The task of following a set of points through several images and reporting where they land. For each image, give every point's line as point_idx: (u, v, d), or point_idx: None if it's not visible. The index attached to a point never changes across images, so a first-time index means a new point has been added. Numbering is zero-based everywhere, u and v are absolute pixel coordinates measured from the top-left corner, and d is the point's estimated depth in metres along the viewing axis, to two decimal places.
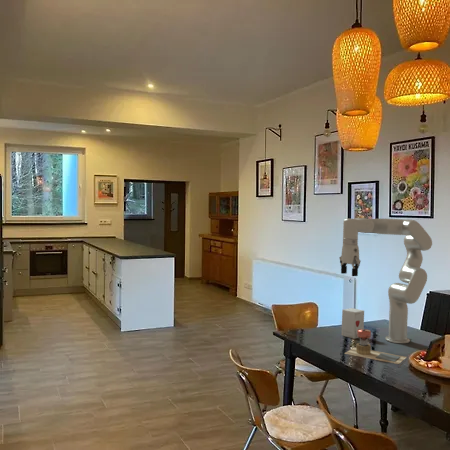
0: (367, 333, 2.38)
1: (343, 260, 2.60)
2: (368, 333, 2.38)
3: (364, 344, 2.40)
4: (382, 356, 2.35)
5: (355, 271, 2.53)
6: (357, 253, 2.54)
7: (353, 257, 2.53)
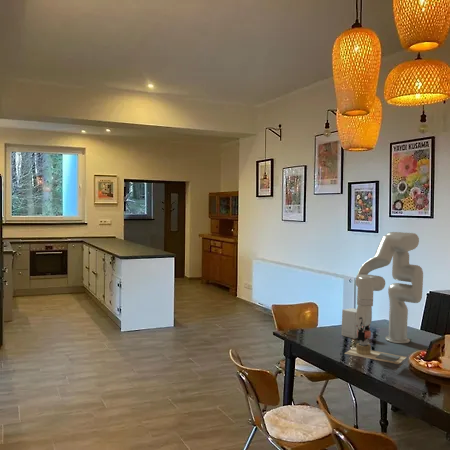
0: (367, 333, 2.38)
1: (366, 323, 2.38)
2: (368, 333, 2.38)
3: (364, 344, 2.40)
4: (382, 356, 2.35)
5: None
6: None
7: None
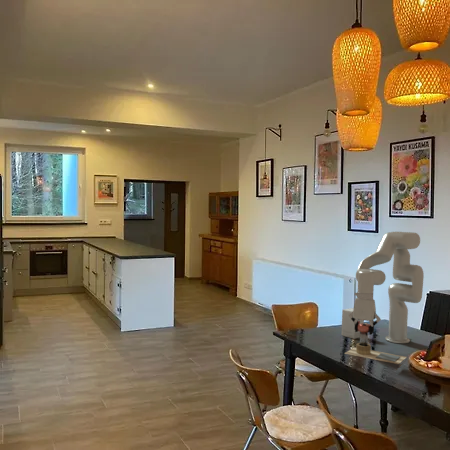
0: None
1: None
2: None
3: None
4: (382, 356, 2.35)
5: None
6: None
7: None
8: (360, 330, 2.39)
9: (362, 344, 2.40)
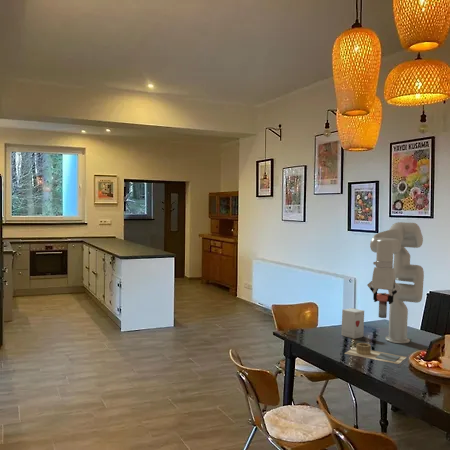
0: None
1: None
2: None
3: None
4: (382, 356, 2.35)
5: None
6: None
7: None
8: (379, 299, 2.34)
9: (381, 314, 2.34)
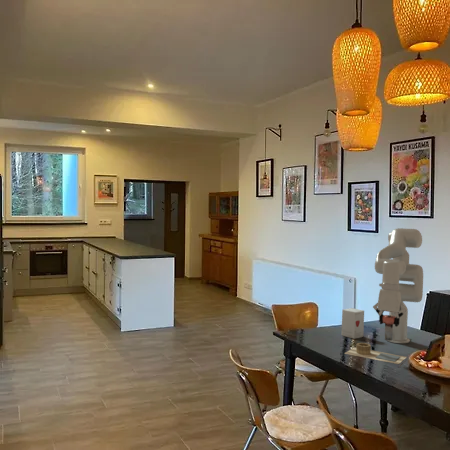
0: None
1: None
2: None
3: None
4: (382, 356, 2.35)
5: None
6: None
7: None
8: (385, 322, 2.32)
9: (387, 336, 2.33)
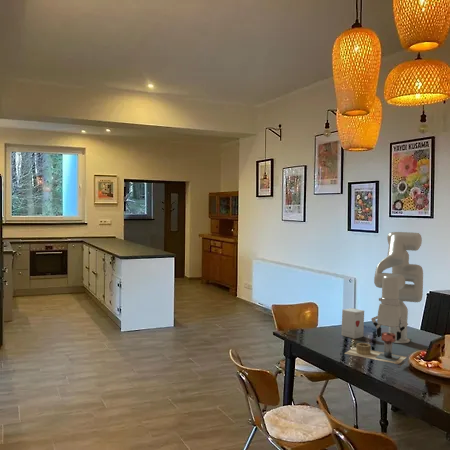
0: None
1: None
2: None
3: None
4: (382, 356, 2.35)
5: None
6: None
7: None
8: (384, 340, 2.32)
9: (386, 354, 2.33)
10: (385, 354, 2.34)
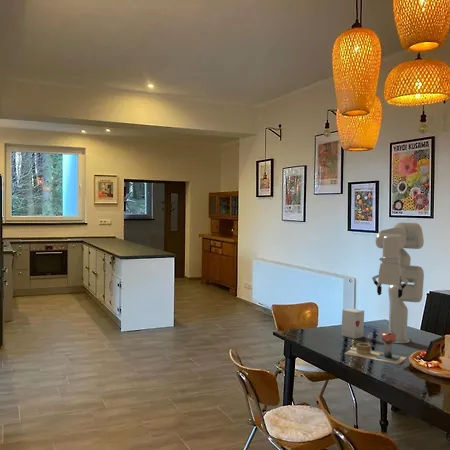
0: None
1: None
2: None
3: None
4: (382, 356, 2.35)
5: None
6: None
7: None
8: (385, 340, 2.32)
9: (387, 354, 2.33)
10: (385, 354, 2.34)
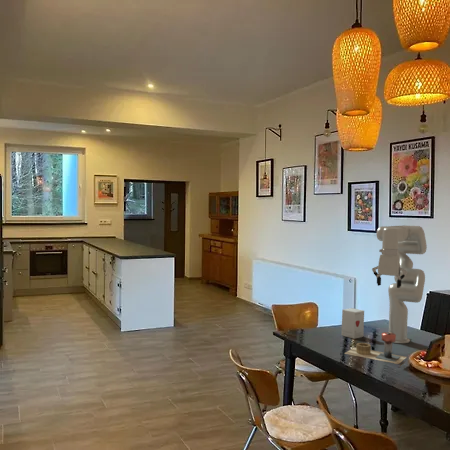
0: None
1: None
2: None
3: None
4: (382, 356, 2.35)
5: None
6: None
7: None
8: (385, 340, 2.32)
9: (387, 354, 2.33)
10: (385, 354, 2.34)
